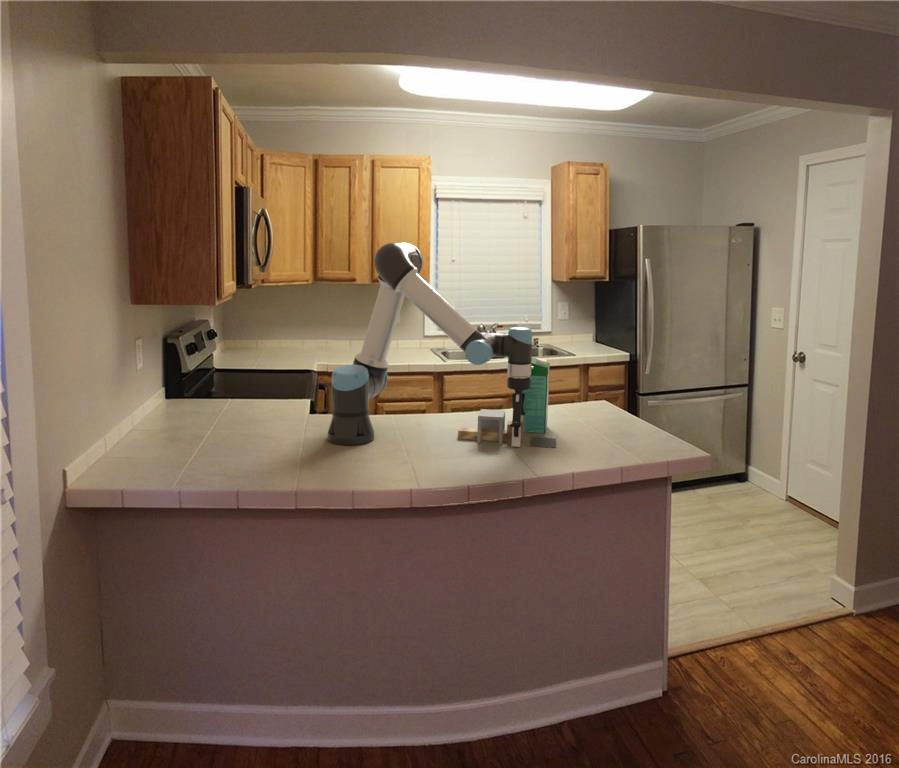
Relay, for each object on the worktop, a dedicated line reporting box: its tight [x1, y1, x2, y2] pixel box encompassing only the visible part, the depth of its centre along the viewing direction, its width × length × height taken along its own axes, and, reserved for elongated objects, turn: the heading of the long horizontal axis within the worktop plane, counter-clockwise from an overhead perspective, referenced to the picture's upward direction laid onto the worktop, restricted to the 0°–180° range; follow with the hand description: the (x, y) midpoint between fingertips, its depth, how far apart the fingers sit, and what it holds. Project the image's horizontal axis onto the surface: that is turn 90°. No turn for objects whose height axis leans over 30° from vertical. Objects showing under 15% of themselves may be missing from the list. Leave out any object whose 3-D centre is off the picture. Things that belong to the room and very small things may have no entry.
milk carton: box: [521, 357, 551, 434], centre depth 246 cm, size 9×9×25 cm
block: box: [506, 420, 524, 444], centre depth 234 cm, size 5×5×6 cm
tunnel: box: [476, 408, 506, 445], centre depth 234 cm, size 8×9×9 cm
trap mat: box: [529, 436, 557, 449], centre depth 232 cm, size 8×10×1 cm
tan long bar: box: [457, 427, 507, 442], centre depth 236 cm, size 16×4×3 cm, turn 81°
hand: (517, 440), depth 234 cm, fingers open, 13 cm apart
